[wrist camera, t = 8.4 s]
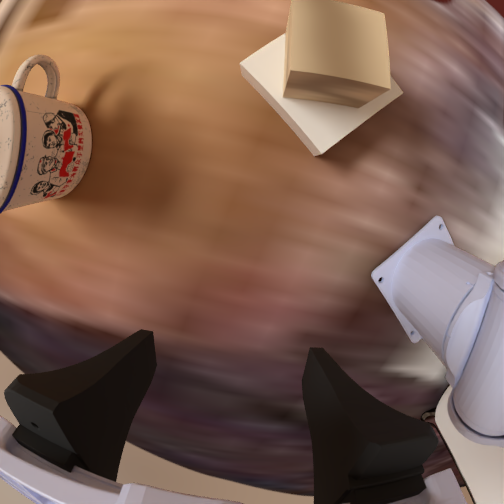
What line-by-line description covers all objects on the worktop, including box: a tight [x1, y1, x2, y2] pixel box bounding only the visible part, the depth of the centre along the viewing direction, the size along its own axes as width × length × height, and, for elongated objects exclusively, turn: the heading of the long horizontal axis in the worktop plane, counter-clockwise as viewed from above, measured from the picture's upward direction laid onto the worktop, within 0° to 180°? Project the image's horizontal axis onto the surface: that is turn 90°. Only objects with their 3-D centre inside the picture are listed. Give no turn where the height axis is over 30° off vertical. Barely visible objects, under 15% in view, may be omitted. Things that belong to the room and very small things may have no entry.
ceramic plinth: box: [240, 33, 403, 156], centre depth 16 cm, size 8×8×3 cm
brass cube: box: [283, 0, 391, 108], centre depth 12 cm, size 5×5×5 cm
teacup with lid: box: [0, 55, 92, 213], centre depth 13 cm, size 12×9×12 cm
